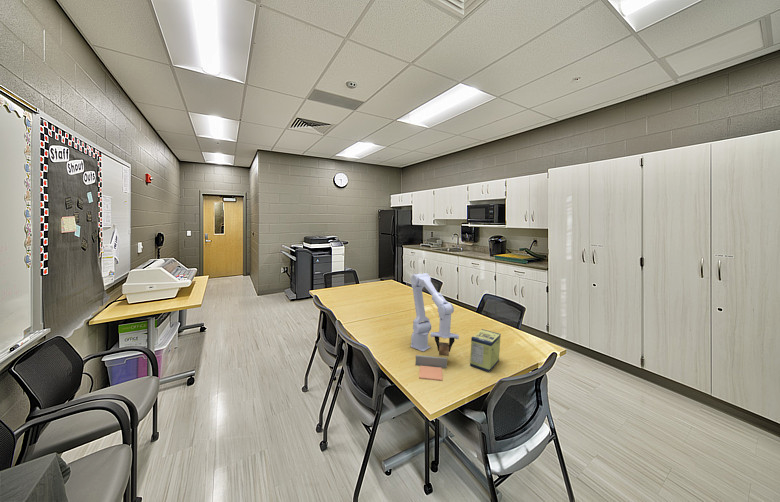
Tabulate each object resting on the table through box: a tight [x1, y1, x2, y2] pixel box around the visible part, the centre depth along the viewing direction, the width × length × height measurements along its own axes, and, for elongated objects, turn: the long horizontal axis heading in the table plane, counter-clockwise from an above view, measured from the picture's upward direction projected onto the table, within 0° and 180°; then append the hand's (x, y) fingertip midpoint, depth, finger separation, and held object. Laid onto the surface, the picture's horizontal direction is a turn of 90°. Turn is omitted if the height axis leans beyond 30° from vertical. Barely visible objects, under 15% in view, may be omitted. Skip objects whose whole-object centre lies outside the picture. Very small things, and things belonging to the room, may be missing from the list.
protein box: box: [469, 328, 501, 373], centre depth 149 cm, size 10×16×16 cm
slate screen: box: [415, 354, 448, 369], centre depth 146 cm, size 16×1×5 cm, turn 81°
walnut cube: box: [438, 341, 450, 357], centre depth 150 cm, size 5×5×5 cm
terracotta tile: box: [418, 366, 443, 382], centre depth 139 cm, size 11×11×1 cm
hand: (443, 350), depth 150 cm, fingers closed on walnut cube, 5 cm apart
